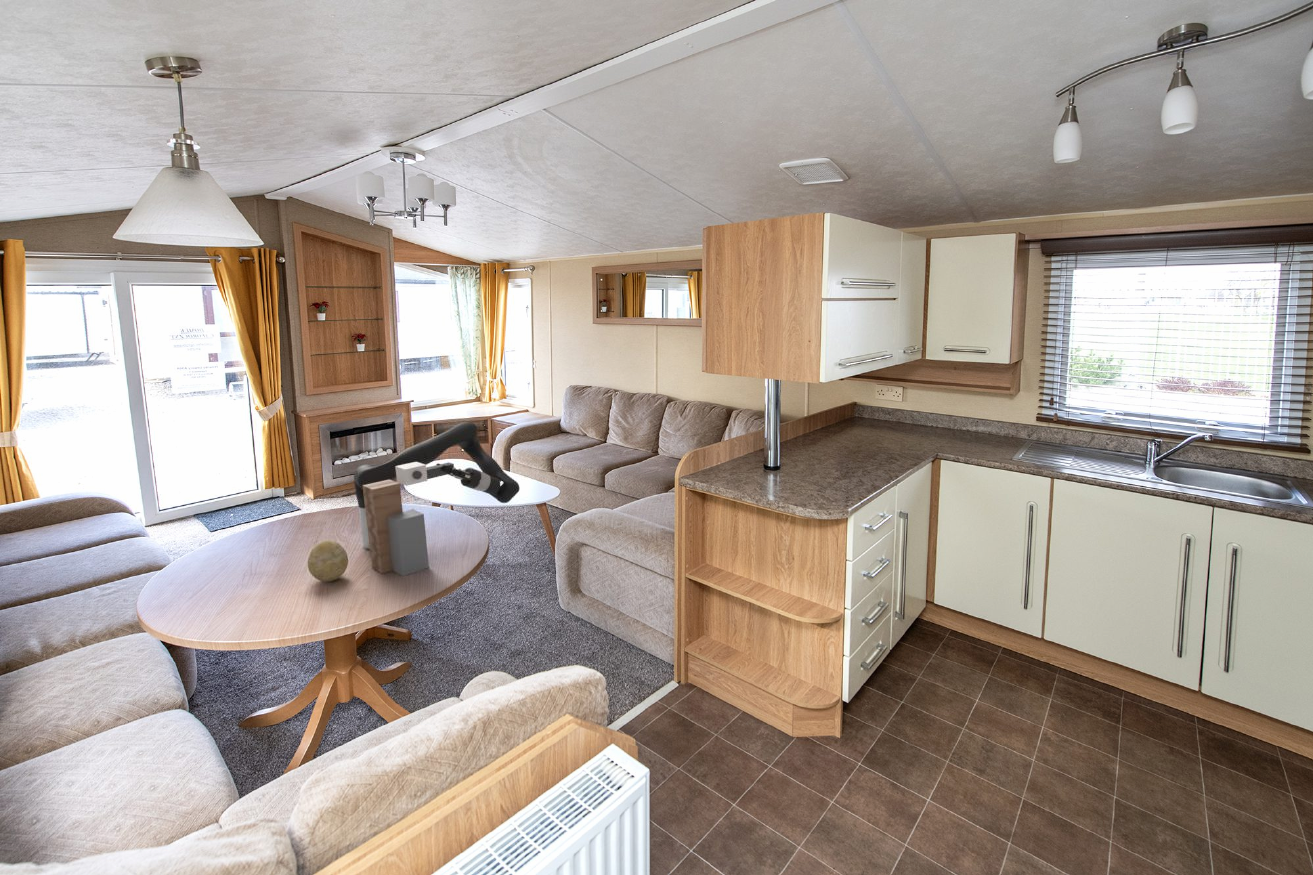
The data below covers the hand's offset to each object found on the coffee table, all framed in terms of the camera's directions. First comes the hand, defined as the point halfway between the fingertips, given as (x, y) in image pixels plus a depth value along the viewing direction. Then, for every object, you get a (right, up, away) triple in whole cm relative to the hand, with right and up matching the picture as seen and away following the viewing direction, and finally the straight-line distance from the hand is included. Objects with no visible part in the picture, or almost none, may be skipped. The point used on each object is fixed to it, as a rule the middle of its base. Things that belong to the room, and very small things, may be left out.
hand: (439, 466), depth 235 cm
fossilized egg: (-35, -40, -11) cm, 54 cm away
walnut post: (-18, -37, 0) cm, 42 cm away
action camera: (-3, -4, -3) cm, 6 cm away
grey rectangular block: (-10, -38, -3) cm, 39 cm away
